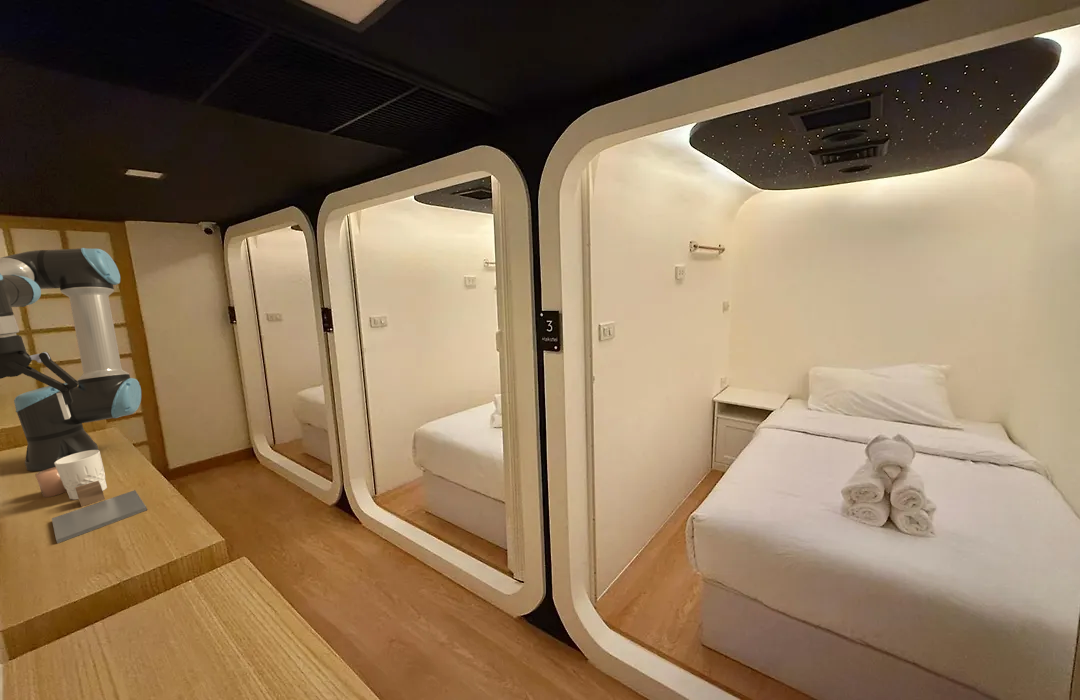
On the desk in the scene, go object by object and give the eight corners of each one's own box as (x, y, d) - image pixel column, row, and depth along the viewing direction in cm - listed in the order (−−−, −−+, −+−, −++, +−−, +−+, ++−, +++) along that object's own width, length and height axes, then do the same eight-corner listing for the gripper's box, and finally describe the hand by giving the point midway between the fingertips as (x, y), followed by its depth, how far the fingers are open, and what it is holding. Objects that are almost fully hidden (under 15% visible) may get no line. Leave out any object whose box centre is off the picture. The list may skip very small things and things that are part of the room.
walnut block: (80, 502, 104) (75, 487, 103) (102, 494, 107) (98, 480, 106) (81, 507, 101) (76, 492, 101) (105, 499, 104) (100, 484, 104)
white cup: (66, 494, 108) (54, 458, 106) (109, 481, 114) (99, 447, 112) (66, 504, 103) (53, 467, 101) (111, 490, 109) (100, 454, 107)
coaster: (52, 521, 96) (51, 518, 96) (135, 493, 106) (135, 490, 106) (57, 543, 87) (56, 540, 87) (147, 510, 98) (146, 506, 98)
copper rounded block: (54, 488, 112) (46, 468, 111) (76, 485, 113) (70, 464, 112) (37, 498, 107) (29, 477, 106) (60, 494, 108) (53, 473, 107)
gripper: (-112, 349, 83) (-71, 449, 87) (73, 329, 99) (99, 414, 103) (-95, 345, 89) (-58, 439, 93) (77, 326, 104) (102, 408, 109)
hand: (25, 426), depth 98 cm, fingers open, 13 cm apart
